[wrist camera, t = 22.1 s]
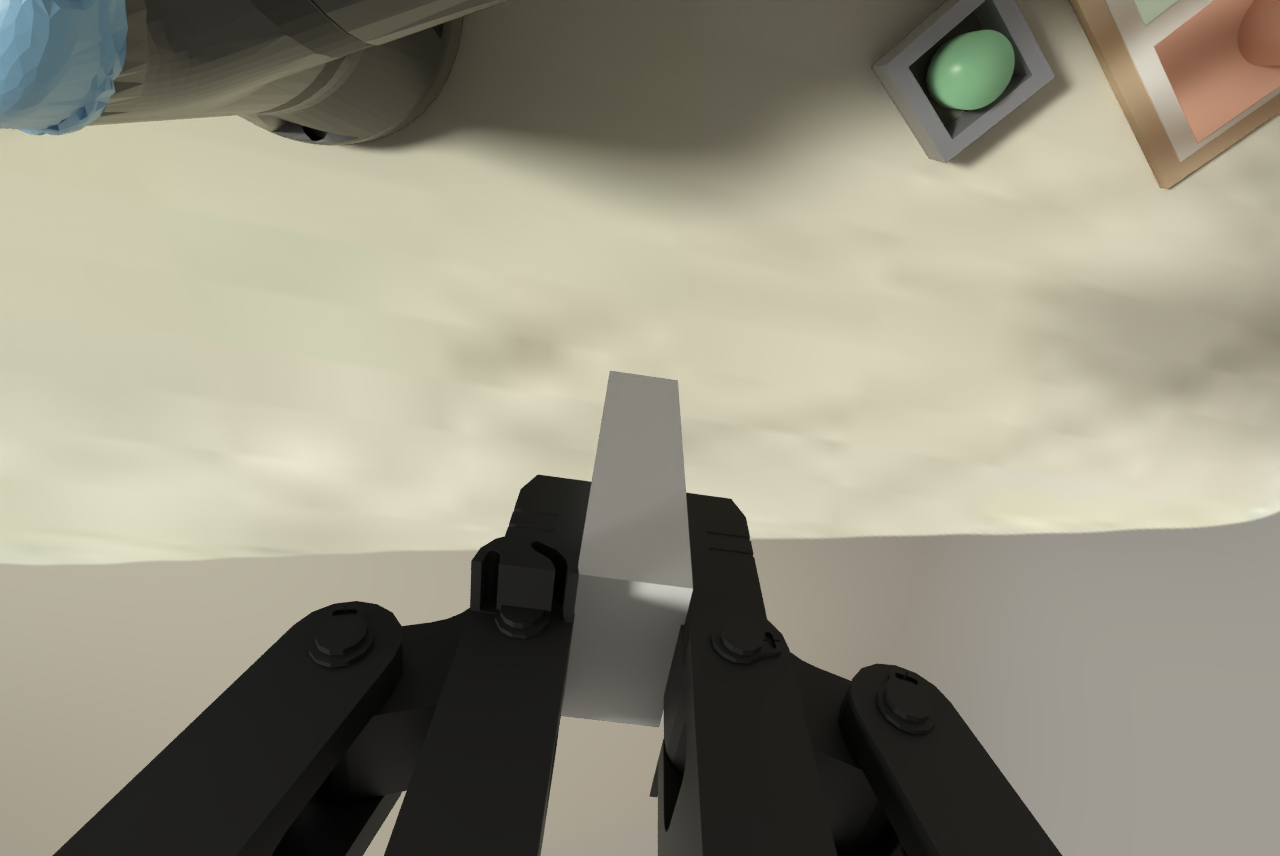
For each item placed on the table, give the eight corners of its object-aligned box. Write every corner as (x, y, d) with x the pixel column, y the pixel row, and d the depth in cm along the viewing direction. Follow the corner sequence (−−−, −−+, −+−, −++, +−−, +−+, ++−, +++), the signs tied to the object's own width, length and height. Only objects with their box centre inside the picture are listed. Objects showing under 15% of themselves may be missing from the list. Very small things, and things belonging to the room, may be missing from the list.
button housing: (871, 67, 34) (885, 65, 32) (975, -25, 32) (998, -33, 30) (928, 158, 36) (946, 162, 34) (1030, 77, 34) (1055, 77, 32)
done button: (914, 68, 33) (928, 67, 31) (975, 16, 32) (994, 12, 30) (947, 123, 34) (963, 125, 32) (1007, 74, 33) (1027, 74, 31)
